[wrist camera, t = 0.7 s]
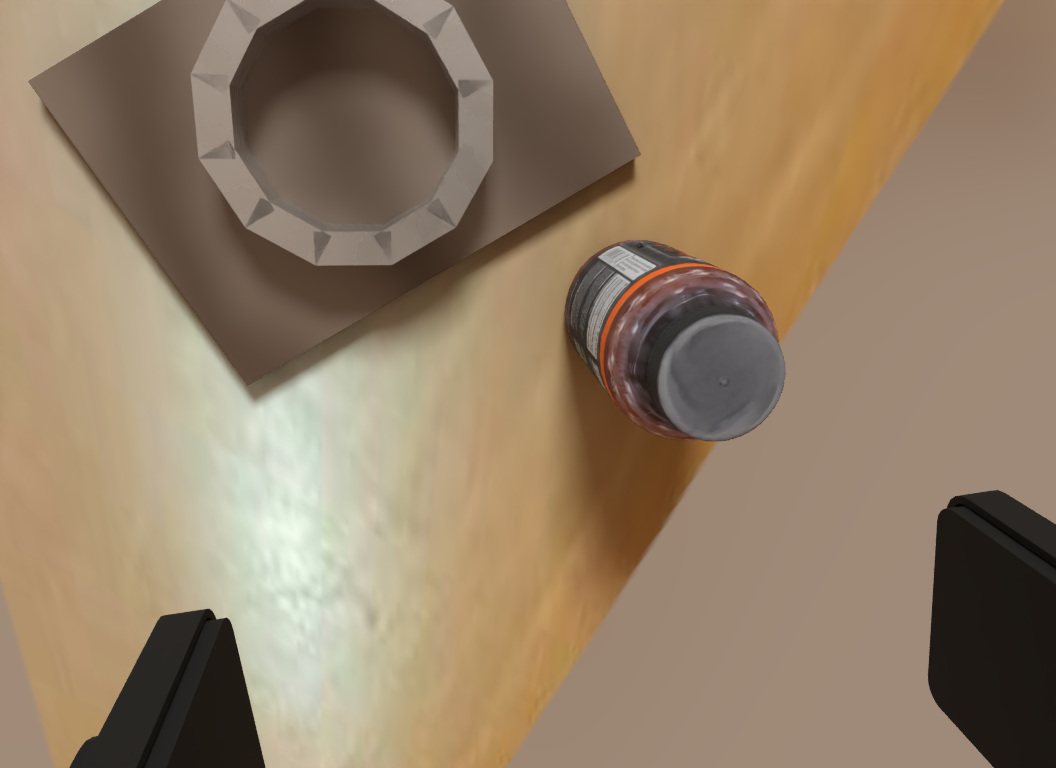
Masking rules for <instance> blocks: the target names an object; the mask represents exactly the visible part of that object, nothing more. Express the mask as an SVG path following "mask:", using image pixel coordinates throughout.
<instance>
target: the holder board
mask: <svg viewBox="0 0 1056 768" xmlns="http://www.w3.org/2000/svg"><path fill="white" fill-rule="evenodd" d="M225 1H226V0H162V1H160V2H158V3H157V4H155V5H153V6H152V7H150V8H148V9H147V10H145V11H143V12H142V13H140V14H138V15H137V16H135V17H133V18H132V19H130V20H128V21H127V22H125V23H124V24H122V25H120V26H119V27H117V28H115V29H114V30H112V31H110V32H109V33H107V34H105V35H104V36H102V37H100V38H99V39H97V40H95V41H94V42H92V43H90V44H89V45H87V46H85V47H84V48H82V49H81V50H79V51H77V52H76V53H74V54H72V55H71V56H69V57H67V58H66V59H64V60H62V61H61V62H59V63H57V64H56V65H54V66H52V67H51V68H49V69H47V70H46V71H44V72H42V73H41V74H39V75H37V76H36V77H34V78H33V79H31V80H29V81H28V82H29V83H30V85H31V86H32V87H33V89H34V90H35V92H36V93H37V94H38V96H39V97H40V99H41V100H42V101H43V103H44V104H45V105H46V107H47V108H48V110H49V111H50V112H51V114H52V115H53V117H54V118H55V119H56V121H57V122H58V123H59V125H60V126H61V128H62V129H63V130H64V132H65V133H66V135H67V136H68V137H69V139H70V140H71V141H72V143H73V144H74V146H75V147H76V148H77V150H78V151H79V153H80V154H81V155H82V157H83V158H84V159H85V161H86V162H87V164H88V165H89V166H90V168H91V169H92V171H93V172H94V173H95V175H96V176H97V177H98V179H99V180H100V182H101V183H102V184H103V186H104V187H105V189H106V190H107V191H108V193H109V194H110V195H111V197H112V198H113V200H114V201H115V202H116V204H117V205H118V207H119V208H120V209H121V211H122V212H123V213H124V215H125V216H126V218H127V219H128V220H129V222H130V223H131V225H132V226H133V227H134V229H135V230H136V231H137V233H138V234H139V236H140V237H141V238H142V240H143V241H144V243H145V244H146V245H147V247H148V248H149V250H150V251H151V252H152V254H153V255H154V256H155V258H156V259H157V261H158V262H159V263H160V265H161V266H162V268H163V269H164V270H165V272H166V273H167V274H168V276H169V277H170V279H171V280H172V281H173V283H174V284H175V286H176V287H177V288H178V290H179V291H180V292H181V294H182V295H183V297H184V298H185V299H186V301H187V302H188V304H189V305H190V306H191V308H192V309H193V310H194V312H195V313H196V315H197V316H198V317H199V319H200V320H201V322H202V323H203V324H204V326H205V327H206V328H207V330H208V331H209V333H210V334H211V335H212V337H213V338H214V340H215V341H216V342H217V344H218V345H219V346H220V348H221V349H222V351H223V352H224V353H225V355H226V356H227V358H228V359H229V360H230V362H231V363H232V364H233V366H234V367H235V369H236V370H237V371H238V373H239V374H240V376H241V377H242V378H243V380H244V381H245V382H246V384H247V385H249V384H251V383H252V382H254V381H256V380H258V379H259V378H261V377H263V376H264V375H266V374H268V373H270V372H271V371H273V370H275V369H276V368H278V367H280V366H281V365H283V364H285V363H287V362H288V361H290V360H292V359H293V358H295V357H297V356H299V355H300V354H302V353H304V352H305V351H307V350H309V349H310V348H312V347H314V346H316V345H317V344H319V343H321V342H322V341H324V340H326V339H328V338H329V337H331V336H333V335H334V334H336V333H338V332H339V331H341V330H343V329H345V328H346V327H348V326H350V325H351V324H353V323H355V322H357V321H358V320H360V319H362V318H363V317H365V316H367V315H368V314H370V313H372V312H374V311H375V310H377V309H379V308H380V307H382V306H384V305H386V304H387V303H389V302H391V301H392V300H394V299H396V298H397V297H399V296H401V295H403V294H404V293H406V292H408V291H409V290H411V289H413V288H415V287H416V286H418V285H420V284H421V283H423V282H425V281H426V280H428V279H430V278H432V277H433V276H435V275H437V274H438V273H440V272H442V271H444V270H445V269H447V268H449V267H450V266H452V265H454V264H455V263H457V262H459V261H461V260H462V259H464V258H466V257H467V256H469V255H471V254H472V253H474V252H476V251H478V250H479V249H481V248H483V247H484V246H486V245H488V244H490V243H491V242H493V241H495V240H496V239H498V238H500V237H501V236H503V235H505V234H507V233H508V232H510V231H512V230H513V229H515V228H517V227H519V226H520V225H522V224H524V223H525V222H527V221H529V220H530V219H532V218H534V217H536V216H537V215H539V214H541V213H542V212H544V211H546V210H548V209H549V208H551V207H553V206H554V205H556V204H558V203H559V202H561V201H563V200H565V199H566V198H568V197H570V196H571V195H573V194H575V193H577V192H578V191H580V190H582V189H583V188H585V187H587V186H588V185H590V184H592V183H594V182H595V181H597V180H599V179H600V178H602V177H604V176H606V175H607V174H609V173H611V172H612V171H614V170H616V169H617V168H619V167H621V166H623V165H624V164H626V163H628V162H629V161H631V160H633V159H635V158H636V157H638V156H640V155H641V154H640V152H639V150H638V147H637V145H636V143H635V141H634V139H633V137H632V135H631V133H630V131H629V129H628V127H627V125H626V123H625V121H624V119H623V117H622V115H621V113H620V111H619V109H618V107H617V105H616V103H615V101H614V98H613V96H612V94H611V92H610V90H609V88H608V86H607V84H606V82H605V80H604V78H603V76H602V74H601V72H600V70H599V68H598V66H597V64H596V62H595V60H594V58H593V56H592V54H591V51H590V49H589V47H588V45H587V43H586V41H585V39H584V37H583V35H582V33H581V31H580V29H579V27H578V25H577V23H576V21H575V19H574V17H573V15H572V13H571V11H570V9H569V7H568V4H567V2H566V0H444V1H446V2H448V3H449V4H451V5H452V6H454V8H455V10H456V12H457V14H458V16H459V18H460V20H461V22H462V23H463V25H464V27H465V29H466V31H467V33H468V35H469V37H470V38H471V40H472V42H473V44H474V46H475V48H476V50H477V51H478V53H479V55H480V57H481V59H482V61H483V63H484V65H485V66H486V68H487V70H488V72H489V74H490V76H491V78H492V80H493V162H492V164H491V166H490V167H489V169H488V171H487V173H486V175H485V176H484V178H483V180H482V182H481V183H480V185H479V187H478V189H477V191H476V192H475V194H474V196H473V198H472V200H471V201H470V203H469V205H468V207H467V208H466V210H465V212H464V214H463V216H462V217H461V219H460V221H459V223H458V225H457V226H456V228H454V229H452V230H451V231H449V232H447V233H445V234H444V235H442V236H440V237H439V238H437V239H435V240H434V241H432V242H430V243H428V244H427V245H425V246H423V247H422V248H420V249H418V250H417V251H415V252H413V253H411V254H410V255H408V256H406V257H405V258H403V259H401V260H400V261H398V262H396V263H394V264H393V265H326V266H316V265H314V264H312V263H310V262H308V261H306V260H305V259H303V258H301V257H299V256H297V255H295V254H293V253H292V252H290V251H288V250H286V249H284V248H282V247H280V246H278V245H277V244H275V243H273V242H271V241H269V240H267V239H265V238H264V237H262V236H260V235H258V234H256V233H254V232H252V231H251V230H249V229H247V228H245V226H244V225H243V223H242V222H241V220H240V219H239V218H238V216H237V215H236V213H235V212H234V210H233V209H232V207H231V206H230V204H229V203H228V201H227V200H226V198H225V197H224V195H223V194H222V192H221V191H220V189H219V188H218V186H217V185H216V183H215V182H214V180H213V179H212V177H211V176H210V174H209V173H208V172H207V170H206V169H205V167H204V166H203V164H202V163H201V161H200V160H199V157H198V147H197V136H196V126H195V115H194V105H193V95H192V84H191V75H190V74H191V72H192V70H193V68H194V66H195V64H196V62H197V60H198V57H199V55H200V53H201V51H202V49H203V47H204V45H205V43H206V41H207V39H208V36H209V34H210V32H211V30H212V28H213V26H214V24H215V22H216V20H217V18H218V15H219V13H220V11H221V9H222V7H223V5H224V3H225ZM243 91H244V103H245V116H246V128H247V141H248V148H249V150H250V151H251V153H252V154H253V156H254V157H255V159H256V161H257V162H258V164H259V165H260V167H261V168H262V170H263V171H264V173H265V174H266V176H267V177H268V179H269V180H270V182H271V184H272V185H273V187H274V188H275V190H276V191H277V193H278V194H279V196H280V197H282V198H283V199H285V200H287V201H289V202H291V203H292V204H294V205H296V206H298V207H300V208H301V209H303V210H305V211H307V212H309V213H310V214H312V215H314V216H316V217H318V218H319V219H321V220H323V221H325V222H327V223H328V224H385V223H386V222H388V221H390V220H391V219H393V218H395V217H396V216H398V215H400V214H402V213H403V212H405V211H407V210H408V209H410V208H412V207H413V206H415V205H417V204H418V203H420V202H422V201H424V200H425V199H427V198H429V197H430V195H431V193H432V191H433V189H434V188H435V186H436V184H437V182H438V180H439V179H440V177H441V175H442V173H443V171H444V169H445V168H446V166H447V164H448V162H449V160H450V159H451V157H452V155H453V153H454V151H455V93H454V91H453V89H452V87H451V85H450V84H449V82H448V80H447V78H446V76H445V75H444V73H443V71H442V69H441V67H440V65H439V64H438V62H437V60H436V58H435V56H434V55H433V53H432V51H431V49H430V47H429V46H428V44H427V42H426V41H425V40H423V39H422V38H420V37H419V36H417V35H415V34H414V33H412V32H411V31H409V30H408V29H406V28H404V27H403V26H401V25H400V24H398V23H397V22H395V21H393V20H392V19H390V18H389V17H387V16H386V15H384V14H382V13H381V12H379V11H378V10H376V9H348V8H316V9H315V10H313V11H311V12H310V13H308V14H306V15H305V16H303V17H301V18H300V19H298V20H296V21H295V22H293V23H291V24H290V25H288V26H286V27H285V28H283V29H281V30H280V31H278V32H276V33H275V34H273V35H271V36H270V37H269V38H268V40H267V42H266V44H265V46H264V48H263V50H262V52H261V54H260V56H259V58H258V60H257V62H256V64H255V66H254V68H253V70H252V72H251V74H250V76H249V78H248V80H247V82H246V84H245V87H244V89H243Z"/></svg>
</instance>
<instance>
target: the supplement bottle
mask: <svg viewBox="0 0 1056 768" xmlns="http://www.w3.org/2000/svg"><path fill="white" fill-rule="evenodd" d="M565 319H566V324H567V330H568V333H569V336H570V339H571V341H572V343H573V345H574V347H575V349H576V351H577V352H578V354H579V356H580V357H581V358H582V360H583V361H584V362H585V364H586V365H587V366H588V368H589V369H590V370H591V372H592V373H593V374H594V376H595V377H596V378H597V380H598V381H599V383H600V384H601V385H602V386H603V388H604V389H605V390H606V391H607V393H608V394H609V395H610V397H611V398H612V399H613V401H614V402H615V404H616V405H617V406H618V407H619V408H620V410H621V411H622V412H623V413H624V414H625V415H626V416H627V417H628V418H629V419H630V420H632V421H633V422H634V423H636V424H637V425H638V426H640V427H641V428H643V429H645V430H646V431H648V432H650V433H653V434H655V435H658V436H660V437H664V438H668V439H674V440H703V441H726V440H730V439H734V438H737V437H740V436H742V435H744V434H746V433H748V432H750V431H752V430H753V429H754V428H756V427H757V426H758V425H760V424H761V423H762V422H763V421H764V420H765V419H766V418H767V417H768V415H769V414H770V413H771V412H772V410H773V409H774V408H775V406H776V404H777V402H778V400H779V398H780V395H781V393H782V390H783V386H784V379H785V362H784V357H783V354H782V351H781V348H780V345H779V340H778V333H777V329H776V325H775V321H774V318H773V315H772V313H771V311H770V310H769V308H768V306H767V304H766V302H765V301H764V300H763V298H762V297H761V296H760V295H759V292H757V291H756V290H755V289H754V288H752V287H751V286H750V285H749V284H748V283H747V282H745V281H744V280H742V279H741V278H739V277H737V276H736V275H733V274H731V273H729V272H727V271H724V270H722V269H720V268H718V267H716V266H714V265H712V264H709V263H707V262H704V261H702V260H699V259H696V258H694V257H692V256H689V255H687V254H685V253H683V252H681V251H678V250H676V249H674V248H672V247H669V246H667V245H664V244H660V243H657V242H651V241H646V240H628V241H623V242H618V243H616V244H613V245H611V246H609V247H606V248H604V249H602V250H601V251H599V252H598V253H596V254H595V255H593V256H592V257H591V258H589V259H588V261H587V262H586V263H585V264H584V265H583V266H582V267H581V268H580V270H579V271H578V273H577V274H576V276H575V277H574V279H573V282H572V284H571V286H570V288H569V292H568V296H567V300H566V306H565Z"/></svg>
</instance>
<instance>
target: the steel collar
mask: <svg viewBox="0 0 1056 768" xmlns="http://www.w3.org/2000/svg"><path fill="white" fill-rule="evenodd" d="M316 8H348V9H376V10H378V11H379V12H381V13H382V14H384V15H386V16H387V17H389V18H390V19H392V20H393V21H395V22H397V23H398V24H400V25H401V26H403V27H404V28H406V29H408V30H409V31H411V32H412V33H414V34H415V35H417V36H419V37H420V38H422V39H423V40H425V41H426V42H427V44H428V46H429V47H430V49H431V51H432V53H433V55H434V56H435V58H436V60H437V62H438V64H439V65H440V67H441V69H442V71H443V73H444V75H445V76H446V78H447V80H448V82H449V84H450V85H451V87H452V89H453V91H454V93H455V151H454V153H453V155H452V157H451V159H450V160H449V162H448V164H447V166H446V168H445V169H444V171H443V173H442V175H441V177H440V179H439V180H438V182H437V184H436V186H435V188H434V189H433V191H432V193H431V195H430V197H429V198H427V199H425V200H424V201H422V202H420V203H418V204H417V205H415V206H413V207H412V208H410V209H408V210H407V211H405V212H403V213H402V214H400V215H398V216H396V217H395V218H393V219H391V220H390V221H388V222H386V223H385V224H328V223H327V222H325V221H323V220H321V219H319V218H318V217H316V216H314V215H312V214H310V213H309V212H307V211H305V210H303V209H301V208H300V207H298V206H296V205H294V204H292V203H291V202H289V201H287V200H285V199H283V198H282V197H280V196H279V194H278V193H277V191H276V190H275V188H274V187H273V185H272V184H271V182H270V180H269V179H268V177H267V176H266V174H265V173H264V171H263V170H262V168H261V167H260V165H259V164H258V162H257V161H256V159H255V157H254V156H253V154H252V153H251V151H250V150H249V148H248V141H247V128H246V116H245V103H244V91H243V89H244V87H245V84H246V82H247V80H248V78H249V76H250V74H251V72H252V70H253V68H254V66H255V64H256V62H257V60H258V58H259V56H260V54H261V52H262V50H263V48H264V46H265V44H266V42H267V40H268V38H269V37H270V36H271V35H273V34H275V33H276V32H278V31H280V30H281V29H283V28H285V27H286V26H288V25H290V24H291V23H293V22H295V21H296V20H298V19H300V18H301V17H303V16H305V15H306V14H308V13H310V12H311V11H313V10H315V9H316ZM190 75H191V84H192V95H193V105H194V115H195V126H196V136H197V147H198V157H199V160H200V161H201V163H202V164H203V166H204V167H205V169H206V170H207V172H208V173H209V174H210V176H211V177H212V179H213V180H214V182H215V183H216V185H217V186H218V188H219V189H220V191H221V192H222V194H223V195H224V197H225V198H226V200H227V201H228V203H229V204H230V206H231V207H232V209H233V210H234V212H235V213H236V215H237V216H238V218H239V219H240V220H241V222H242V223H243V225H244V226H245V228H247V229H249V230H251V231H252V232H254V233H256V234H258V235H260V236H262V237H264V238H265V239H267V240H269V241H271V242H273V243H275V244H277V245H278V246H280V247H282V248H284V249H286V250H288V251H290V252H292V253H293V254H295V255H297V256H299V257H301V258H303V259H305V260H306V261H308V262H310V263H312V264H314V265H316V266H326V265H393V264H394V263H396V262H398V261H400V260H401V259H403V258H405V257H406V256H408V255H410V254H411V253H413V252H415V251H417V250H418V249H420V248H422V247H423V246H425V245H427V244H428V243H430V242H432V241H434V240H435V239H437V238H439V237H440V236H442V235H444V234H445V233H447V232H449V231H451V230H452V229H454V228H456V226H457V225H458V223H459V221H460V219H461V217H462V216H463V214H464V212H465V210H466V208H467V207H468V205H469V203H470V201H471V200H472V198H473V196H474V194H475V192H476V191H477V189H478V187H479V185H480V183H481V182H482V180H483V178H484V176H485V175H486V173H487V171H488V169H489V167H490V166H491V164H492V162H493V80H492V78H491V76H490V74H489V72H488V70H487V68H486V66H485V65H484V63H483V61H482V59H481V57H480V55H479V53H478V51H477V50H476V48H475V46H474V44H473V42H472V40H471V38H470V37H469V35H468V33H467V31H466V29H465V27H464V25H463V23H462V22H461V20H460V18H459V16H458V14H457V12H456V10H455V8H454V6H452V5H451V4H449V3H448V2H446V1H444V0H226V1H225V3H224V5H223V7H222V9H221V11H220V13H219V15H218V18H217V20H216V22H215V24H214V26H213V28H212V30H211V32H210V34H209V36H208V39H207V41H206V43H205V45H204V47H203V49H202V51H201V53H200V55H199V57H198V60H197V62H196V64H195V66H194V68H193V70H192V72H191V74H190Z"/></svg>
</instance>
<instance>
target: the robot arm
mask: <svg viewBox="0 0 1056 768" xmlns="http://www.w3.org/2000/svg"><path fill="white" fill-rule="evenodd" d="M928 682H929V687H930V690H931V693H932V696H933V698H934V700H935V702H936V703H937V705H938V706H939V707H940V708H941V710H942V711H943V712H944V713H945V714H946V715H947V716H948V717H949V719H950V720H951V721H952V722H953V723H954V724H955V725H956V726H957V727H958V728H959V730H960V731H961V732H962V733H963V734H964V735H965V736H966V737H967V738H968V739H969V741H971V743H972V744H973V745H974V746H975V747H976V748H977V749H978V751H979V752H980V753H981V754H982V755H983V756H984V757H985V758H986V759H987V760H988V761H989V763H990V764H991V765H992V766H993V767H994V768H1056V524H1054V523H1052V522H1051V521H1049V520H1048V519H1046V518H1044V517H1043V516H1041V515H1040V514H1038V513H1036V512H1035V511H1033V510H1031V509H1030V508H1028V507H1027V506H1025V505H1023V504H1022V503H1020V502H1019V501H1017V500H1015V499H1014V498H1012V497H1010V496H1009V495H1007V494H1006V493H1003V492H1001V491H998V490H996V491H987V492H981V493H974V494H968V495H961V496H955V497H954V498H952V499H951V500H950V502H949V504H948V506H947V509H943V510H942V511H941V512H940V514H939V516H938V520H937V534H936V551H935V568H934V585H933V602H932V618H931V635H930V653H929V669H928ZM70 768H265V764H264V760H263V755H262V751H261V747H260V743H259V738H258V734H257V730H256V725H255V721H254V717H253V713H252V708H251V704H250V700H249V695H248V691H247V687H246V683H245V678H244V674H243V670H242V666H241V661H240V657H239V653H238V648H237V644H236V640H235V636H234V631H233V628H232V624H231V622H230V620H229V619H228V618H223V619H216V617H215V615H214V613H213V612H212V611H211V610H210V609H204V610H197V611H191V612H184V613H177V614H171V615H164V616H161V617H160V619H159V620H158V621H157V623H156V625H155V627H154V629H153V631H152V633H151V635H150V637H149V639H148V641H147V643H146V644H145V646H144V648H143V650H142V652H141V654H140V656H139V658H138V660H137V662H136V664H135V666H134V668H133V670H132V672H131V673H130V675H129V677H128V679H127V681H126V683H125V685H124V687H123V689H122V691H121V693H120V695H119V697H118V699H117V700H116V702H115V704H114V706H113V708H112V710H111V712H110V714H109V716H108V718H107V720H106V722H105V724H104V726H103V728H102V729H101V731H100V733H99V735H98V736H96V737H92V738H90V739H89V740H87V741H85V743H84V744H83V745H82V747H81V748H80V750H79V751H78V753H77V755H76V756H75V758H74V760H73V762H72V764H71V766H70Z"/></svg>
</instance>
